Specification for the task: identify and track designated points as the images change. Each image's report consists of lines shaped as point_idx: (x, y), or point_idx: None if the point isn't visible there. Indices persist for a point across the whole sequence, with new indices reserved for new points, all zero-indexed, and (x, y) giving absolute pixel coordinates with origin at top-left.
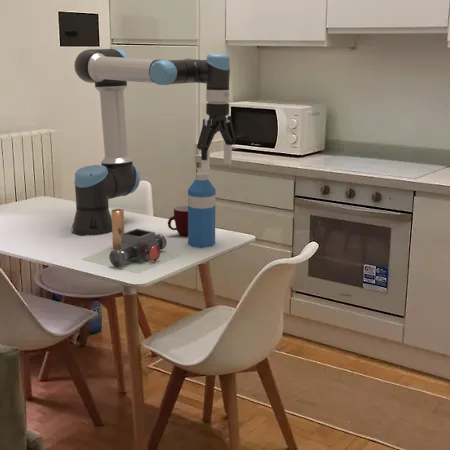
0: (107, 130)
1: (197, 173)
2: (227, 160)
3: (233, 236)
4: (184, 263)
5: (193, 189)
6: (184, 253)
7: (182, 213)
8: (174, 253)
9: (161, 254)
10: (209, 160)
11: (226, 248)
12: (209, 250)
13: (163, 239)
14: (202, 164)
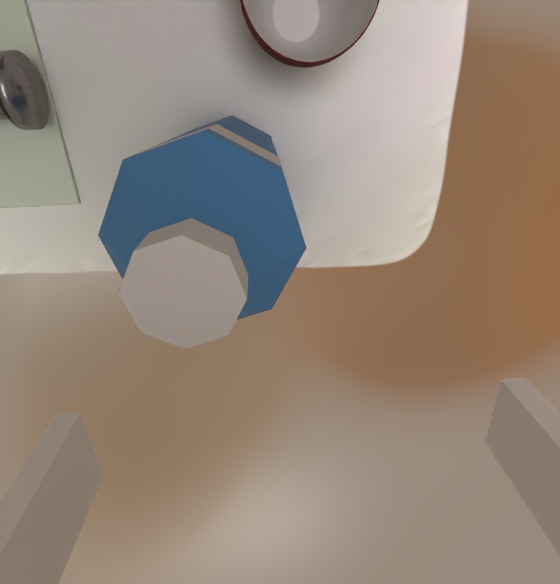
0: None
1: (154, 262)
2: (512, 445)
3: (393, 200)
4: (36, 257)
5: (104, 242)
6: (109, 188)
7: (246, 18)
8: (67, 169)
9: (18, 136)
10: (56, 578)
11: None
12: None
13: (15, 124)
14: (29, 471)
